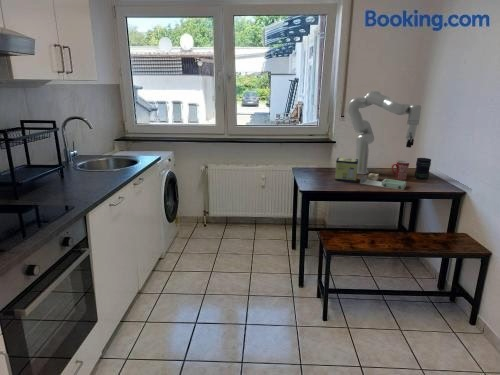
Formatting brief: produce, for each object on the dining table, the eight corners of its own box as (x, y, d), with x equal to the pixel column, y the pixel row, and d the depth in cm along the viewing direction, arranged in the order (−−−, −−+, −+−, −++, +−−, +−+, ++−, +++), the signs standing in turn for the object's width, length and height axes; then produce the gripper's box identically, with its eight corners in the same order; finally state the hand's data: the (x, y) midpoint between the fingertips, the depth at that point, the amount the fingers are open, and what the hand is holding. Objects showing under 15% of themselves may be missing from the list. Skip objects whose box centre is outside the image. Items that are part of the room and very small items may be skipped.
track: (359, 183, 246) (360, 178, 245) (364, 179, 256) (365, 174, 255) (403, 190, 230) (403, 184, 229) (406, 185, 240) (407, 180, 239)
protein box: (336, 177, 264) (337, 157, 259) (356, 178, 259) (358, 158, 254) (334, 180, 254) (336, 160, 250) (356, 182, 249) (358, 161, 245)
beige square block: (367, 179, 256) (368, 174, 255) (370, 178, 261) (370, 173, 260) (375, 181, 253) (376, 175, 252) (378, 179, 258) (378, 174, 256)
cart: (381, 185, 238) (381, 182, 237) (385, 182, 247) (385, 178, 246) (402, 189, 230) (402, 185, 230) (405, 185, 240) (406, 181, 239)
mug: (403, 177, 261) (406, 160, 257) (409, 180, 253) (411, 162, 249) (387, 177, 261) (389, 160, 257) (392, 180, 252) (395, 163, 248)
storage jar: (430, 180, 253) (433, 160, 249) (416, 179, 255) (418, 160, 251) (426, 176, 263) (429, 157, 258) (412, 176, 264) (415, 157, 260)
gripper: (409, 121, 250) (406, 144, 255) (405, 123, 236) (401, 147, 241) (420, 121, 246) (416, 145, 251) (417, 124, 232) (413, 148, 237)
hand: (409, 146), depth 246 cm, fingers open, 9 cm apart
